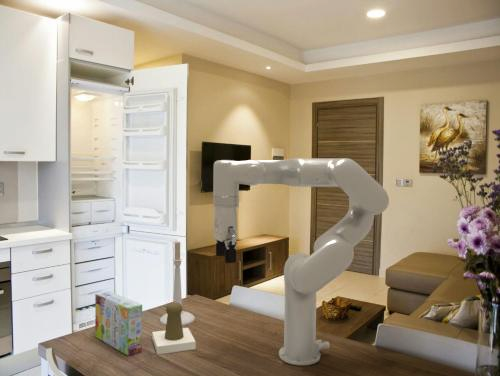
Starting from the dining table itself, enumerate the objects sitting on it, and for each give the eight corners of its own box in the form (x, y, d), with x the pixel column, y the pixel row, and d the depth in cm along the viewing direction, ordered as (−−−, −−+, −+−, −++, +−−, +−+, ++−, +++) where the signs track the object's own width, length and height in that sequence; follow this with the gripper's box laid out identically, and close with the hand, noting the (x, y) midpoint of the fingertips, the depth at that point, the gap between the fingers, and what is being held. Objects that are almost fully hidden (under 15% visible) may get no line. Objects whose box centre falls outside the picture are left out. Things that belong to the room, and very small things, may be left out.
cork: (179, 341, 133) (179, 307, 133) (161, 339, 134) (161, 305, 134) (186, 333, 139) (186, 301, 139) (168, 332, 140) (168, 299, 140)
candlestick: (199, 315, 163) (199, 238, 162) (187, 327, 151) (187, 244, 149) (168, 312, 166) (168, 237, 165) (154, 324, 154) (153, 242, 152)
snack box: (143, 351, 132) (143, 303, 131) (127, 357, 128) (127, 308, 127) (109, 332, 146) (109, 289, 145) (94, 337, 142) (93, 293, 141)
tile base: (188, 334, 145) (188, 327, 145) (195, 349, 133) (195, 341, 133) (152, 339, 141) (152, 331, 141) (157, 354, 129) (157, 346, 129)
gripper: (206, 199, 132) (206, 254, 133) (221, 204, 115) (221, 266, 116) (229, 199, 134) (229, 252, 135) (247, 204, 118) (247, 264, 119)
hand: (225, 259), depth 126 cm, fingers open, 9 cm apart
